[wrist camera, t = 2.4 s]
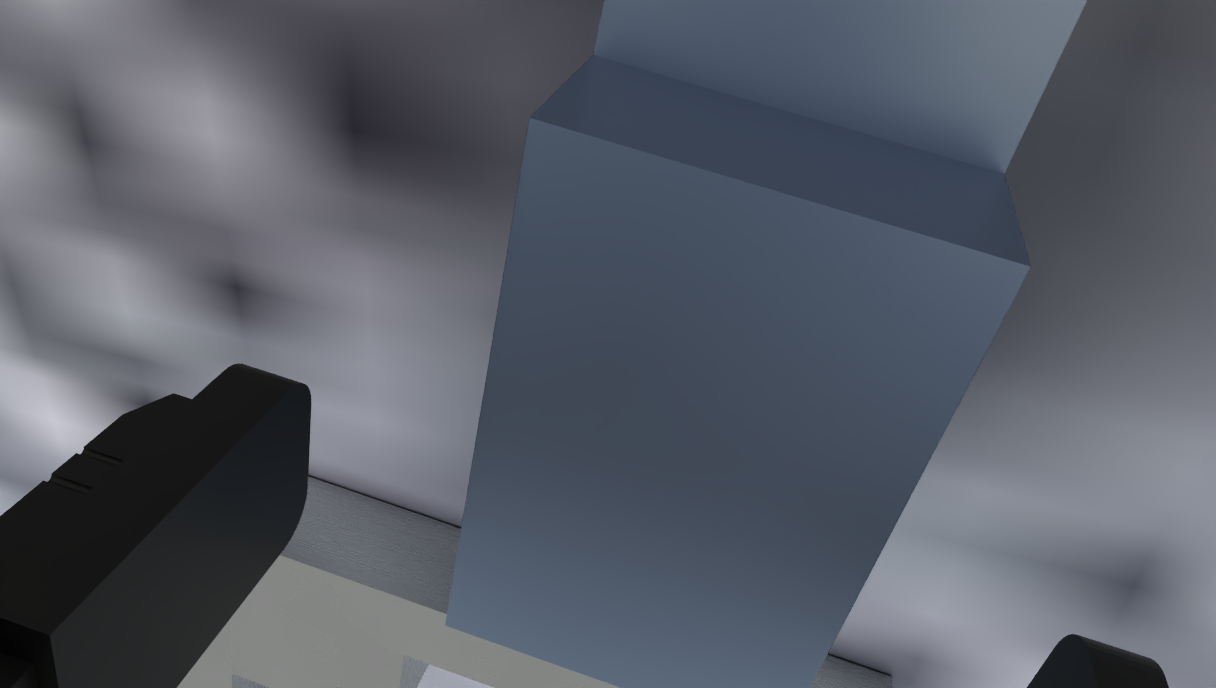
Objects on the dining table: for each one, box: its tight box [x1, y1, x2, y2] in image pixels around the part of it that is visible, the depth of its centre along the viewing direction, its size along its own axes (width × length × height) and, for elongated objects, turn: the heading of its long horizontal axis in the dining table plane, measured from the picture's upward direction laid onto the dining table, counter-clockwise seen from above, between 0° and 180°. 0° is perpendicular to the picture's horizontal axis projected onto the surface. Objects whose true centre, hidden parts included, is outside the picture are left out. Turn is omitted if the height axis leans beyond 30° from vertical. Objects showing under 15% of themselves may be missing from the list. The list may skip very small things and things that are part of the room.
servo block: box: [445, 0, 1087, 688], centre depth 12 cm, size 11×4×5 cm, turn 168°
